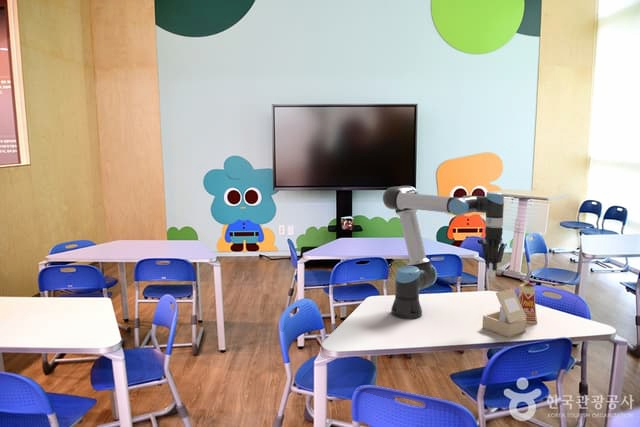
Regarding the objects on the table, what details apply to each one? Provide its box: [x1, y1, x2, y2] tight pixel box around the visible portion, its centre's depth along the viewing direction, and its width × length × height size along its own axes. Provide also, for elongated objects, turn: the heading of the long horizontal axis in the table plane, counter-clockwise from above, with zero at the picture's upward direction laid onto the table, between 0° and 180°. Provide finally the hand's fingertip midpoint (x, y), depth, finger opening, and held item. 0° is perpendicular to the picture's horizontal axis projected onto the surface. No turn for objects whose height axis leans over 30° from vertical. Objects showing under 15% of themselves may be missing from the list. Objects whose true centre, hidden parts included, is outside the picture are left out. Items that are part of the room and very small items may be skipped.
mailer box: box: [481, 305, 527, 339], centre depth 221 cm, size 14×12×12 cm
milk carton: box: [516, 280, 538, 324], centre depth 235 cm, size 9×9×20 cm
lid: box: [495, 288, 527, 323], centre depth 217 cm, size 14×12×1 cm
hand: (491, 276), depth 225 cm, fingers closed
